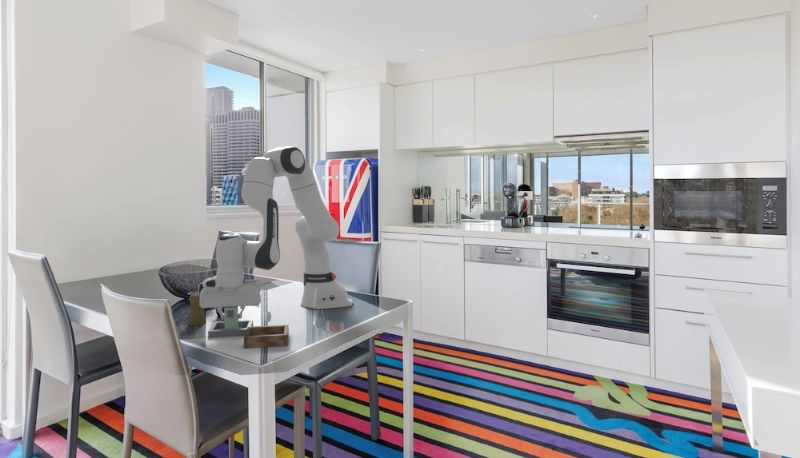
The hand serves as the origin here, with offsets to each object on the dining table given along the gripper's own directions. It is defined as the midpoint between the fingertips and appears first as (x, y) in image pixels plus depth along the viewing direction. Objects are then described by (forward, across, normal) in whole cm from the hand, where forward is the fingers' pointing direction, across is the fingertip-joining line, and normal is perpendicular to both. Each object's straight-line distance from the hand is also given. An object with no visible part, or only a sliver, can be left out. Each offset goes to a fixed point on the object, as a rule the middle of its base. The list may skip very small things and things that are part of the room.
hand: (231, 318), depth 158 cm
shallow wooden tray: (+5, -13, +13) cm, 19 cm away
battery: (+5, +14, -33) cm, 36 cm away
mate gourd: (+5, +5, -20) cm, 21 cm away
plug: (+4, 0, 0) cm, 4 cm away
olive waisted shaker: (+5, +14, -13) cm, 20 cm away
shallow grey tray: (+5, 0, 0) cm, 5 cm away
